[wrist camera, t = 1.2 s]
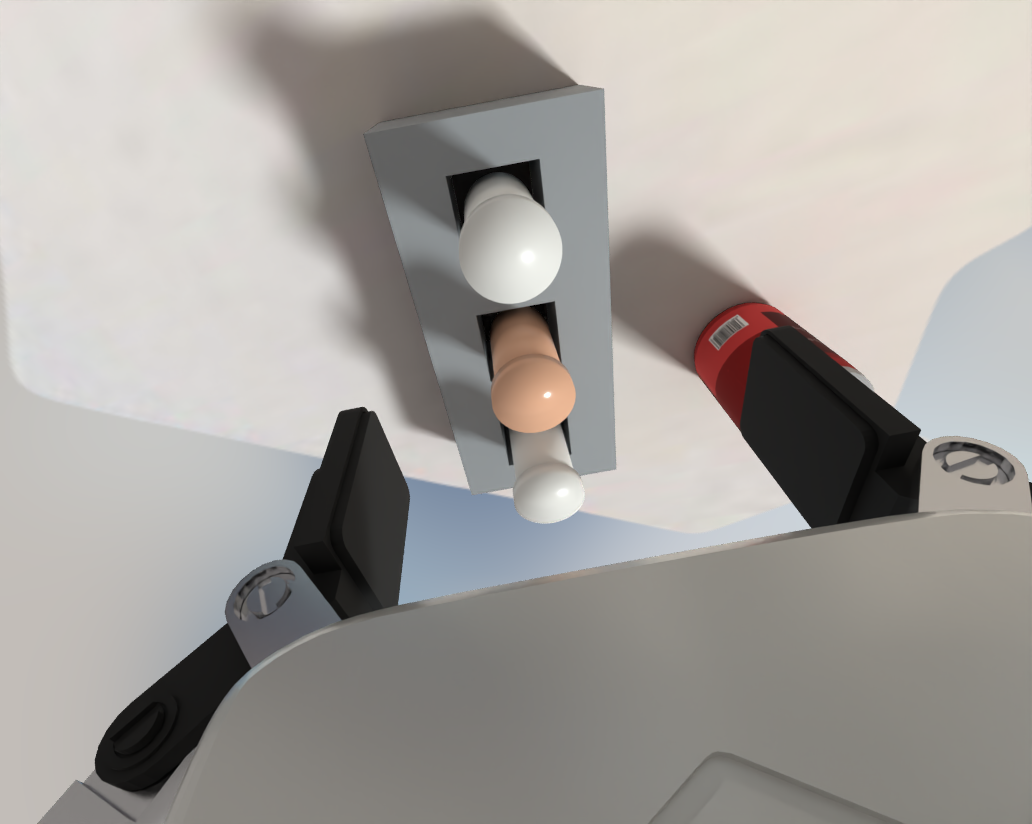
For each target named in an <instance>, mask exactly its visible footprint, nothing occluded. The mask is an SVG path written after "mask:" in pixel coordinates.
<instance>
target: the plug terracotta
mask: <svg viewBox="0 0 1032 824" xmlns="http://www.w3.org/2000/svg"><path fill="white" fill-rule="evenodd" d="M490 343H491V352H492V360H493V369H494V379H493V381H492V385H491V400H492V408H493V411H494V413H495V415H496V417H497V418H498V420H499V421H500V422H501V423H502V424H504V425H505V426H507V427H508V428H510V429H512V430H515V431H518V432H523V433H536V432H542V431H546V430H548V429H551V428H553V427H555V426H557V425H558V424H560V423H561V422H562V421H563V420H564V419H565V418H566V417H567V416H568V415H569V414H570V412H571V410H572V408H573V406H574V403H575V398H576V392H575V387H574V384H573V381H572V378H571V376H570V373H569V371H568V370H567V368H566V367H565V366H564V365H563V364H562V363H561V362H560V360H559V357H558V354H557V351H556V349H555V346H554V343H553V340H552V337H551V334H550V331H549V328H548V325H547V322H546V320H545V318H544V317H543V315H542V314H541V313H540V312H538V311H537V310H536V309H534V308H531V307H528V306H526V307H520V308H515V309H509V310H504V311H501V312H500V313H499V314H498V315H497V316H496V317H495V318H494V320H493V322H492V324H491V327H490Z"/></svg>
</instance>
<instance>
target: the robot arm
mask: <svg viewBox="0 0 1032 824" xmlns="http://www.w3.org/2000/svg"><path fill="white" fill-rule="evenodd" d="M740 430H741V434H742V436H743V438H744V439H745V440H746V442H747V443H748V444H749V446H750V447H751V448H752V450H753V451H754V452H755V454H756V455H757V456H758V458H759V459H760V460H761V462H762V463H763V464H764V466H765V467H766V468H767V470H768V471H769V472H770V474H771V475H772V476H773V478H774V479H775V480H776V482H777V483H778V484H779V486H780V487H781V488H782V490H783V491H784V492H785V494H786V495H787V496H788V498H789V499H790V500H791V502H792V503H793V504H794V506H795V507H796V508H797V510H798V511H799V512H800V514H801V515H802V516H803V518H804V519H805V520H806V521H807V523H808V524H809V526H810V527H811V528H812V529H806V530H801V531H795V532H789V533H784V534H778V535H772V536H766V537H761V538H755V539H750V540H744V541H738V542H733V543H727V544H721V545H716V546H710V547H704V548H699V549H693V550H688V551H682V552H677V553H671V554H666V555H661V556H655V557H649V558H644V559H638V560H633V561H627V562H622V563H616V564H611V565H605V566H600V567H595V568H589V569H584V570H578V571H573V572H567V573H562V574H557V575H551V576H546V577H541V578H535V579H530V580H525V581H519V582H514V583H509V584H503V585H498V586H493V587H487V588H482V589H477V590H472V591H466V592H462V593H456V594H452V595H446V596H441V597H437V598H432V599H427V600H422V601H417V602H412V603H407V604H402V605H398V600H399V590H400V582H401V573H402V564H403V555H404V546H405V537H406V528H407V520H408V511H409V502H410V494H409V489H408V486H407V483H406V481H405V479H404V477H403V474H402V472H401V470H400V467H399V465H398V463H397V461H396V458H395V456H394V454H393V451H392V449H391V447H390V445H389V442H388V440H387V438H386V435H385V433H384V431H383V429H382V426H381V424H380V422H379V419H378V417H377V415H376V413H375V412H374V411H370V412H368V411H367V409H366V408H365V407H359V408H354V409H349V410H344V411H341V412H339V414H338V417H337V420H336V423H335V426H334V429H333V432H332V435H331V437H330V440H329V443H328V446H327V449H326V452H325V455H324V458H323V461H322V464H321V467H320V469H317V470H316V471H315V472H314V474H313V476H312V478H311V481H310V484H309V486H308V489H307V492H306V495H305V498H304V501H303V503H302V506H301V509H300V512H299V515H298V517H297V520H296V523H295V526H294V529H293V532H292V534H291V538H290V540H289V543H288V546H287V549H286V551H285V554H284V557H283V560H275V561H272V562H269V563H266V564H264V565H261V566H260V567H258V568H256V569H255V570H253V571H251V572H250V573H249V574H248V575H247V576H245V577H244V578H243V579H242V580H241V581H240V582H239V583H238V584H237V586H236V587H235V588H234V589H233V591H232V593H231V594H230V596H229V599H228V600H227V603H226V608H225V615H226V620H227V622H228V623H227V624H226V625H224V626H223V627H222V628H221V629H220V630H218V631H217V632H216V633H215V634H213V635H212V636H211V637H210V638H209V639H207V640H206V641H205V642H204V643H203V644H201V645H200V646H199V647H198V648H197V649H196V650H194V651H193V652H192V653H191V654H190V655H188V656H187V657H186V658H185V659H184V660H182V661H181V662H180V663H179V664H178V665H176V666H175V667H174V668H173V669H171V670H170V671H169V672H168V673H166V674H165V675H164V676H163V677H162V678H160V679H159V680H158V681H157V682H156V683H155V684H153V685H152V686H151V687H150V688H148V689H147V690H146V691H145V692H144V693H142V694H141V695H140V696H139V697H138V698H136V699H135V700H134V701H133V702H132V703H130V705H129V706H127V707H126V708H125V709H124V710H123V711H122V712H121V713H120V714H119V715H118V716H117V718H116V719H115V720H114V722H113V723H112V724H111V725H110V727H109V728H108V729H107V731H106V733H105V735H104V737H103V738H102V740H101V742H100V744H99V746H98V750H97V754H96V758H95V770H94V771H93V772H92V774H91V775H90V776H89V777H88V778H87V779H86V780H85V782H84V783H82V782H80V781H78V780H75V782H74V783H73V784H72V785H71V786H70V787H69V788H68V789H67V791H66V792H65V793H64V794H63V795H62V796H61V797H60V798H59V800H58V801H57V802H56V803H55V804H54V806H52V808H51V809H50V810H49V811H48V812H47V813H46V814H45V816H44V817H43V818H42V819H41V820H40V821H39V822H38V823H37V824H1032V483H1031V482H1029V481H1028V474H1027V472H1026V470H1025V467H1024V465H1023V464H1022V463H1021V462H1020V461H1019V460H1018V459H1017V458H1016V457H1015V456H1013V455H1011V454H1010V453H1008V452H1007V451H1005V450H1004V449H1002V448H999V447H997V446H995V445H992V444H990V443H988V442H984V441H981V440H977V439H973V438H967V437H960V436H947V437H946V436H945V437H940V438H936V439H932V440H931V441H929V442H928V443H927V442H926V441H924V440H923V439H922V438H921V437H920V436H919V434H920V431H921V429H920V428H918V427H917V426H916V425H914V424H913V423H912V422H911V421H910V420H908V419H907V418H906V417H905V416H903V415H902V414H901V413H899V412H898V411H897V410H896V409H895V408H893V407H892V406H891V405H890V404H888V403H887V402H886V401H885V400H883V399H882V398H881V397H880V396H878V395H877V394H876V393H875V392H873V391H872V390H871V389H870V388H868V387H867V386H866V385H865V384H863V383H862V382H861V381H860V380H858V379H857V378H856V377H855V376H853V375H852V374H851V373H850V372H849V371H847V370H846V369H845V368H844V367H842V366H841V365H840V364H839V363H837V362H836V361H835V360H834V359H832V358H831V357H830V356H829V355H827V354H826V353H825V352H824V351H822V350H821V349H820V348H819V347H817V346H816V345H815V344H814V343H812V342H811V341H810V340H809V339H807V338H806V337H805V336H804V335H802V334H801V333H800V332H799V331H797V330H796V329H795V328H794V327H792V326H790V325H787V326H781V327H776V328H771V329H766V330H763V331H762V332H761V334H760V336H759V337H757V338H755V339H754V341H753V345H752V351H751V358H750V364H749V370H748V376H747V382H746V389H745V395H744V401H743V407H742V413H741V419H740Z"/></svg>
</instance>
